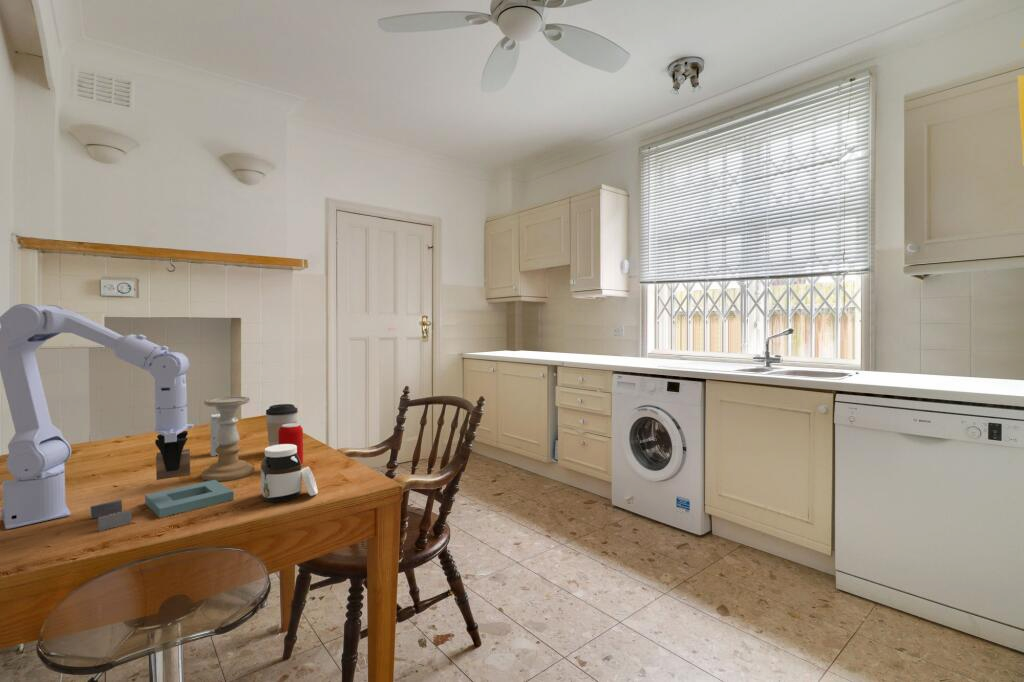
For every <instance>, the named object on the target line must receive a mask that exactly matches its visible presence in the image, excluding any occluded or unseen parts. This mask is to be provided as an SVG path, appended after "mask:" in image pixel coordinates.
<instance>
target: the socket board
mask: <svg viewBox="0 0 1024 682" xmlns="http://www.w3.org/2000/svg"><path fill="white" fill-rule="evenodd" d="M233 499H234V490H232V489H230V488H229V487H227V486H226V485H224V484H223V483H221V481H216V480H211V481H203V482H198V483H193V484H188V485H184V486H179V487H174V488H171V489H165V490H162V491H157V492H152V493H146V494H145V495H144V502H145V505H146V506H147V507H148V508H149V509H150V510H151V511H152V510H153V511H152V512H153V513H154V512H155V513H154V514H155V515H156V516H157V515H158V516H159V517H160V518H159V517H158V516H157V517H158V518H159V519H162V518H161V517H164V518H166V517H165V516H168V517H170V516H169V515H171V516H173V515H172V514H175V515H178V514H177V513H179V514H182V513H181V512H183V513H186V512H185V511H187V512H191V511H195V510H199V509H203V508H206V506H207V507H210V505H211V506H215V505H218V503H219V504H222V503H221V502H223V503H226V502H225V501H227V502H230V501H229V500H231V501H234V500H233ZM214 504H215V505H214ZM202 507H203V508H202ZM198 508H199V509H198ZM194 509H195V510H194ZM190 510H191V511H190Z"/></svg>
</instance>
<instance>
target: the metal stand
mask: <svg viewBox="0 0 1024 682" xmlns="http://www.w3.org/2000/svg"><path fill="white" fill-rule="evenodd" d="M89 511H90V513H89V515H90V516H89V517H91V518H90V520H94V519H93V518H95V519H97V523H98V524H97V527H98V532H102V531H101V530H103V531H106V530H105V529H107V530H110V529H109V528H111V529H114V528H113V527H115V528H117V527H116V526H119V527H121V526H120V525H123V526H125V525H124V524H127V525H129V524H128V523H131V524H132V510H131V509H129V510H125V511H123V502H122V499H117V500H112V501H111V500H110V501H108V502H102V503H98V504H94V505H90V506H89ZM118 512H119V513H118ZM114 513H115V514H114ZM110 514H111V515H110ZM97 517H98V518H97Z"/></svg>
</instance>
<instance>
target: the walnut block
mask: <svg viewBox="0 0 1024 682" xmlns="http://www.w3.org/2000/svg"><path fill="white" fill-rule="evenodd" d="M155 468H156V469H155V470H156V481H160V480H166V479H167V480H168V479H172V478H173V479H175V478H180V477H186V476H187V477H188V476H191V448H186V449H183V450H182V454H181V459H180V465H179V469H178V470H176V471H168V472H167V471H166V468H165V465H164V461H163V457H162V454H161V452H160V451H159V452H157V453H156V456H155Z"/></svg>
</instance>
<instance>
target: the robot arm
mask: <svg viewBox="0 0 1024 682" xmlns="http://www.w3.org/2000/svg"><path fill="white" fill-rule="evenodd" d="M60 334H73V335H76V336H78V337H81V338H84V339H85V340H89V341H92V342H93V343H97V344H99V345H101V346H104V347H107V348H110V349H111V350H113V353H114V355H115V357H116V358H117V359H120V360H122V361H125V362H126V363H129V364H131V365H133V366H136V367H139V368H141V369H143V370H145V371H148V372H149V373H150V375H151V376H152V378H153V379H154V407H155V409H154V410H155V412H154V413H155V417H154V418H155V427H154V433H156V434H158V435H157V436H156V438H157V439H155V441H154V442H155V445H156V447H157V448H158V450H159V452H161V454H162V457H163V461H164V465H165V468H166V471H167V472H168V471H176V470H178V469H179V465H180V459H181V454H182V450H184V448H185V445H186V443H187V441H188V437H187V436H188V429H189V430H190V429H194V425H195V424H194V423H188V400H187V399H188V398H187V397H188V394H187V393H188V392H187V391H188V390H187V374H186V373H187V372H188V371H189V369H190V367H191V365H190V364H191V363H190V360H189V358H188V356H187V355H186V354H185V353H183V352H181V351H179V350H171V351H169V350H170V349H169V348H170V347H168V346H166V345H162V346H161V345H158V344H156V343H154V342H152V341H149V340H148V339H147V336H146V335H144V334H137V335H136V334H133V333H131V334H127V335H122V334H119V332H116V331H115V330H113V329H112V330H111V329H109V328H107V327H106V326H104V325H102V324H100V323H97V322H95V321H94V320H91V319H89V318H87V317H86V316H83V315H82V314H79V313H78V312H75V311H73V310H70V309H65V308H63V307H61V306H59V305H56V304H55V305H54V304H47V305H45V304H44V305H43V304H41V305H40V304H29V303H18V304H15V305H13V306H11V307H10V308H9V309H7V310H6V311H5V312H4V313H2V315H0V375H1V379H2V383H3V387H4V391H5V395H6V400H7V403H8V408H9V410H10V411H9V412H10V416H11V419H12V423H13V426H14V431H15V433H14V435H13V437H12V438H11V439H10V441H9V443H8V444H7V448H8V457H7V459H6V462H5V463H6V469H7V471H8V472H9V474H10V475H12V476H13V477H14V478H12V479H7V480H3V481H2V483H1V491H2V509H0V517H1V519H2V520H3V524H4V528H5V529H6V530H10V529H14V528H18V527H23V526H28V525H33V524H37V523H40V522H41V523H42V522H46V521H51V520H55V519H59V518H63V517H68V516H69V517H70V516H71V514H72V513H71V511H70V508H69V507H68V506H67V504H66V480H65V479H66V475H65V472H66V471H65V470H66V466H65V463H66V462H67V461H68V460H69V459H70V457H71V456H72V447H71V445H70V444H69V442H68V441H67V440H66V439H65V438H64V436H63V432H62V430H61V429H59V428H58V427H56V426H55V425H53V422H52V419H51V415H50V410H49V406H48V402H47V398H46V395H45V390H44V387H43V382H42V378H41V374H40V371H39V366H38V362H37V357H36V354H35V353H36V350H38V349H39V348H40V347H42V345H43V344H44V343H45V342H47V341H48V340H50V339H52V338H54V337H56V336H58V335H60Z"/></svg>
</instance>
